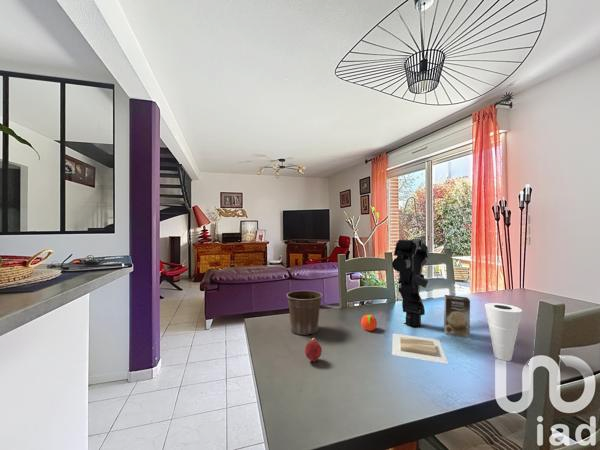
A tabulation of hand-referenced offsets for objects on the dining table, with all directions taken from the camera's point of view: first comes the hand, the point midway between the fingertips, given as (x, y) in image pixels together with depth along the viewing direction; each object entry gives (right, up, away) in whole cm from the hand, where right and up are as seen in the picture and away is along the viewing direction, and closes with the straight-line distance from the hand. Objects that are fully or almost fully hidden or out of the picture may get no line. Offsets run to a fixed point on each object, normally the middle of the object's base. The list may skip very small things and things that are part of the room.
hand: (406, 304), depth 114 cm
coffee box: (+22, -13, 0) cm, 26 cm away
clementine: (-15, -13, +4) cm, 20 cm away
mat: (-1, -13, -12) cm, 18 cm away
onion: (-42, -13, -22) cm, 49 cm away
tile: (0, -12, -9) cm, 15 cm away
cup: (+27, -13, -20) cm, 36 cm away
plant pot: (-44, -13, +5) cm, 46 cm away
